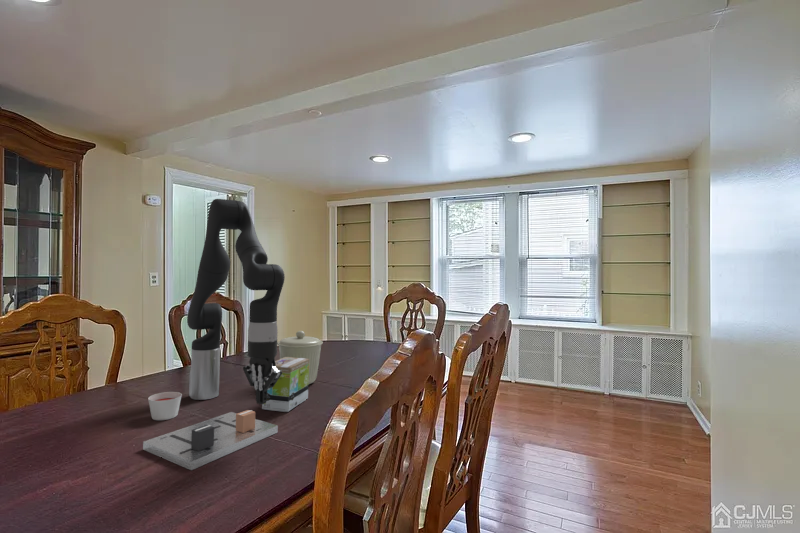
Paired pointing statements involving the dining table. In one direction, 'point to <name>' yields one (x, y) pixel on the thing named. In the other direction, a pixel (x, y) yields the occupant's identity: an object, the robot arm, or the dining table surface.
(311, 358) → the canister
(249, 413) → the fader terracotta
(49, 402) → the dining table surface
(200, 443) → the fader black
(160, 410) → the candle
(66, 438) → the dining table surface
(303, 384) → the tea box
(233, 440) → the mixing board
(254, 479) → the dining table surface
